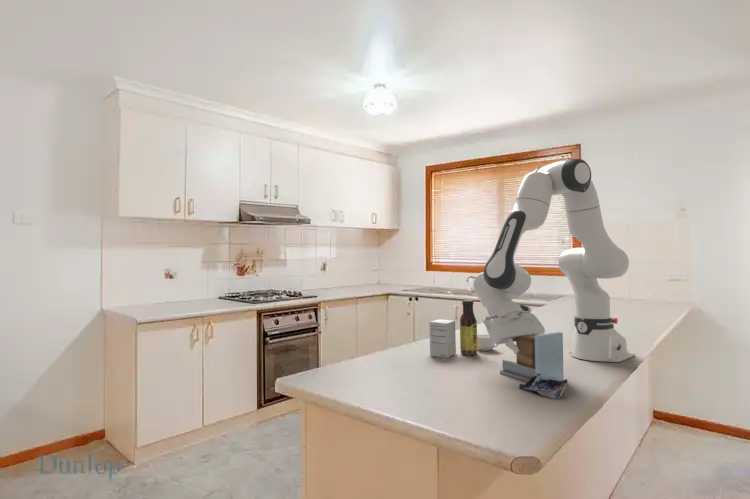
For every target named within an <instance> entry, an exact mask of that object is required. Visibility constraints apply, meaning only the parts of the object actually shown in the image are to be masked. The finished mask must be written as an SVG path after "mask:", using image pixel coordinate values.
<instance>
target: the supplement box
mask: <svg viewBox="0 0 750 499" xmlns="http://www.w3.org/2000/svg"><path fill="white" fill-rule="evenodd" d="M428 322H429V327H428V328H429V355H430V356H432V357H437V358H445V359H446V358H447V359H448V358H450V357H452V356H454V355H456V353H457V349H456V348H457V346H456V344H457V342H456V338H457V337H456V320H453V319H442V318H441V319H439V318H438V319H435V320H432V321H428Z"/></svg>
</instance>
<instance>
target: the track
mask: <svg viewBox="0 0 750 499" xmlns="http://www.w3.org/2000/svg"><path fill="white" fill-rule="evenodd" d="M499 374H500V375H503V376H505V377H509V378H514V379H516V380H520V381H523V382H526V383H527V382H529V380H530V379H531V378H532V377H533V376H534V375H537V374H540V376H539V377H538V378H537V379H536V382H537V381H539V382H540V383H541V382H542V381H543V380H550V379H551V380H556V381H558V382H562V381H564V380H565V378H564V336H563V332H560V331H556V332H550V333H544V334H542V335H535V368H534V367H530V366H527V365H523V364H519V363H517V361H516V362H515V361H512V360H507V359H502V369H500V370H499ZM553 377H555V378H553Z"/></svg>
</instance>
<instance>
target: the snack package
mask: <svg viewBox="0 0 750 499" xmlns="http://www.w3.org/2000/svg"><path fill="white" fill-rule="evenodd" d="M539 376H540V374H537V375H534V376H533V377H532V378H531V379H530V380H529V382H526V383H525V384H522V383H519V387H518V388H519V389H520V390H525V391H529V392H535V393H538V394H540V395H542V396H544V397H546V395H545V394H543V393H542V392H541V391H543V392H546V393H548V394H549V395H551V396H552V397H551V398H552V399H553V400H559V399H560V398H561V397H562V395H563V393H564V392H565V388H566V386H567V384H568V379H564V381H559V382H558V381H556V380H551V379H550V380H543V381H542V382H541V383H540V382H539V381H537V382H536V379H537V378H538V377H539ZM553 378H555V377H553ZM547 398H548V399H550V397H549V396H547Z"/></svg>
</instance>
